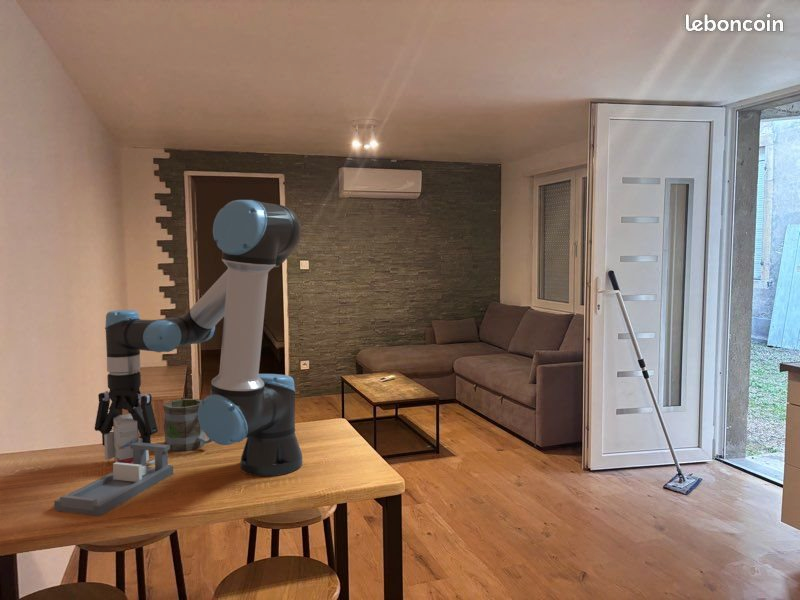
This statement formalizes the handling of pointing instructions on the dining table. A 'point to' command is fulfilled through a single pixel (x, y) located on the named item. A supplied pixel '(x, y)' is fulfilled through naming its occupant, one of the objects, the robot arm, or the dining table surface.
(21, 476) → the dining table surface
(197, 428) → the mug
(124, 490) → the lane
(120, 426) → the ink box
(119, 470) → the pusher
